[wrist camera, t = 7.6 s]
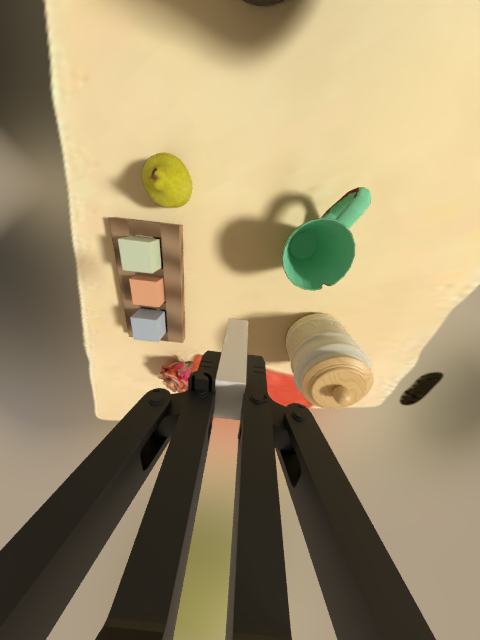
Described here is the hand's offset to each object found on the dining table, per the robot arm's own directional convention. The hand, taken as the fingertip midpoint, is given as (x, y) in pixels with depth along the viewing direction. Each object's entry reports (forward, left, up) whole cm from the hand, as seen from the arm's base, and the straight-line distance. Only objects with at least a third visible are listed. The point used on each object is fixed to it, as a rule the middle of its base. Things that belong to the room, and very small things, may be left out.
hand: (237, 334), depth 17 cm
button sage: (0, -18, -24) cm, 30 cm away
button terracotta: (+7, -18, -26) cm, 32 cm away
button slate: (+14, -18, -24) cm, 33 cm away
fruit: (-11, -13, -27) cm, 32 cm away
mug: (-6, +11, -27) cm, 29 cm away
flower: (+28, -13, -27) cm, 41 cm away
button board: (+7, -18, -26) cm, 33 cm away
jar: (+15, +17, -27) cm, 35 cm away
